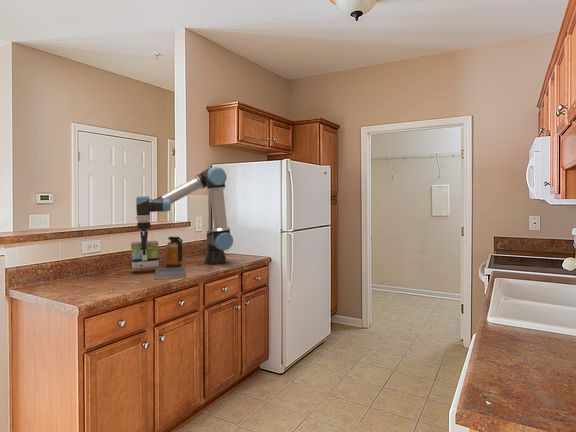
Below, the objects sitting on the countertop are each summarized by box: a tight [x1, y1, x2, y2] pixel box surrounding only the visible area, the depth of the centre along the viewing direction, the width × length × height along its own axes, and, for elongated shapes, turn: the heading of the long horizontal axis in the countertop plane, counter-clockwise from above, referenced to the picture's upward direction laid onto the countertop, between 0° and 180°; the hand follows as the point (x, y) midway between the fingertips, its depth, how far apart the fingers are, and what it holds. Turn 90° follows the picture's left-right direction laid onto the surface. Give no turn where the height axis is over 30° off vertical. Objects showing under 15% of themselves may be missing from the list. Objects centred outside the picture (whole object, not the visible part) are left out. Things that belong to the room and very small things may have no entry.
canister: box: [165, 236, 184, 268], centre depth 253 cm, size 9×11×20 cm
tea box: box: [130, 240, 160, 269], centre depth 237 cm, size 15×10×15 cm, turn 113°
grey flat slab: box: [154, 266, 187, 280], centre depth 226 cm, size 16×15×4 cm
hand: (145, 258), depth 237 cm, fingers closed on tea box, 10 cm apart
